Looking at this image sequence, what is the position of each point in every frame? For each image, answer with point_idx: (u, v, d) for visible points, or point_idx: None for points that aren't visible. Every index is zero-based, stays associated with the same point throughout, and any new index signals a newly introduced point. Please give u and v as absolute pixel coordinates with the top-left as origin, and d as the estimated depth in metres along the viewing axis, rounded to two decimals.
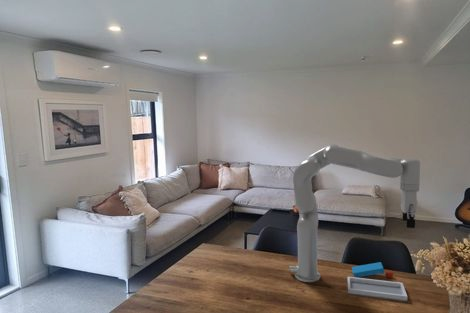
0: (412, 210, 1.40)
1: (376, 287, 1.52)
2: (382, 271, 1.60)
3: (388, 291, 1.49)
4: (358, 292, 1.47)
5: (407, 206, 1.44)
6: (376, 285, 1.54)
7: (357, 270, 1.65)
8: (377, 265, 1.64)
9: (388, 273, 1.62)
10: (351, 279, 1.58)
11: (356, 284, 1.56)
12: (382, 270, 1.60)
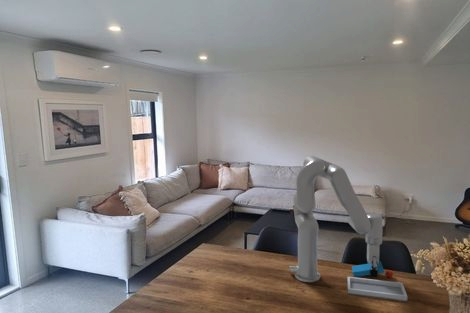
0: (374, 264, 1.57)
1: (376, 287, 1.52)
2: (382, 270, 1.60)
3: (388, 291, 1.49)
4: (358, 292, 1.47)
5: (371, 258, 1.59)
6: (376, 285, 1.54)
7: (357, 269, 1.66)
8: None
9: (388, 273, 1.62)
10: (351, 279, 1.58)
11: (356, 284, 1.56)
12: (382, 269, 1.60)
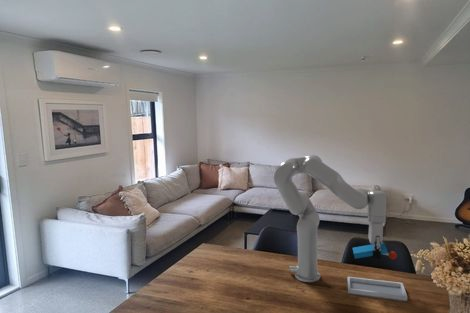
0: (378, 244, 1.44)
1: (376, 287, 1.52)
2: (385, 251, 1.48)
3: (388, 291, 1.49)
4: (358, 292, 1.47)
5: (374, 237, 1.47)
6: (376, 285, 1.54)
7: (358, 250, 1.53)
8: (380, 245, 1.52)
9: (392, 254, 1.50)
10: (351, 279, 1.58)
11: (356, 284, 1.56)
12: (385, 250, 1.48)
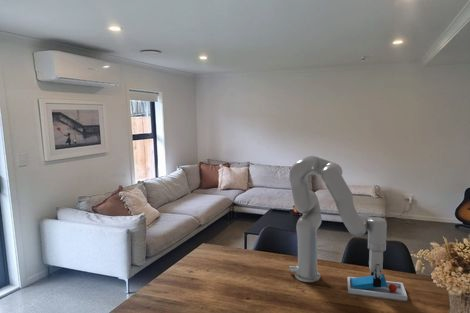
0: (378, 271, 1.42)
1: None
2: (384, 284, 1.46)
3: (388, 291, 1.49)
4: (358, 292, 1.47)
5: (373, 266, 1.45)
6: None
7: (357, 282, 1.52)
8: None
9: (391, 287, 1.48)
10: (351, 279, 1.58)
11: None
12: (385, 283, 1.46)
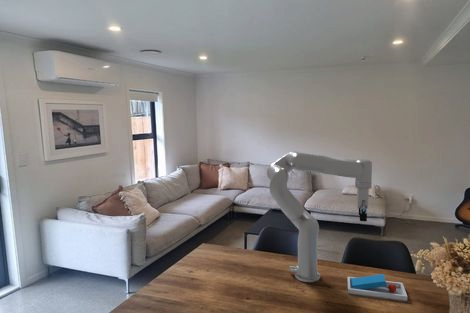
0: (363, 205, 1.57)
1: None
2: (384, 284, 1.46)
3: (388, 291, 1.49)
4: (358, 292, 1.47)
5: (360, 202, 1.60)
6: None
7: (357, 282, 1.52)
8: (379, 277, 1.50)
9: (391, 286, 1.48)
10: (351, 279, 1.58)
11: None
12: (384, 283, 1.46)
